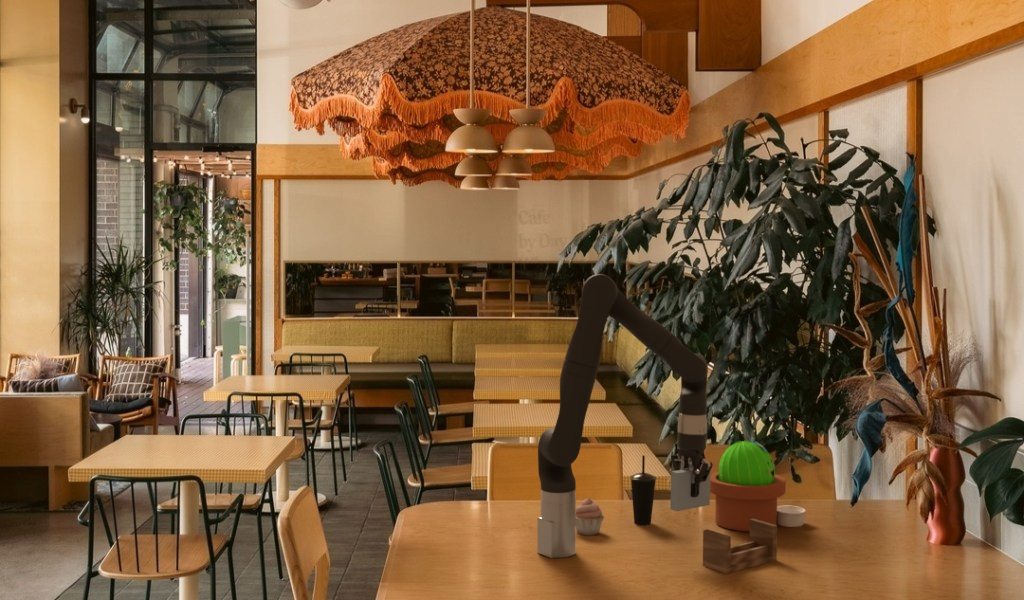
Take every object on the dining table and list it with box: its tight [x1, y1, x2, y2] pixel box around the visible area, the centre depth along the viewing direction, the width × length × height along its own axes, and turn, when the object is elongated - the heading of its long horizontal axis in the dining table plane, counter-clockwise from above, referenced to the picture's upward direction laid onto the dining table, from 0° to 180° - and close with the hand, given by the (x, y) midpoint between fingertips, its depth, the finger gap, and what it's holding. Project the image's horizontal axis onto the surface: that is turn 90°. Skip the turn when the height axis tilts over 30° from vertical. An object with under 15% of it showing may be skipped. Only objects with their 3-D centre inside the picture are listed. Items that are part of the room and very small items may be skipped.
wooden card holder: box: [702, 519, 778, 574], centre depth 283 cm, size 19×8×9 cm, turn 126°
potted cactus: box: [710, 439, 787, 533], centre depth 319 cm, size 22×22×25 cm
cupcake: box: [575, 497, 605, 536], centre depth 310 cm, size 9×9×10 cm
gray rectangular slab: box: [669, 469, 712, 512], centre depth 288 cm, size 12×2×10 cm, turn 126°
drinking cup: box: [629, 455, 657, 526], centre depth 320 cm, size 8×8×20 cm
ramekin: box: [776, 504, 806, 528], centre depth 321 cm, size 9×9×4 cm
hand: (690, 495), depth 288 cm, fingers closed on gray rectangular slab, 2 cm apart
